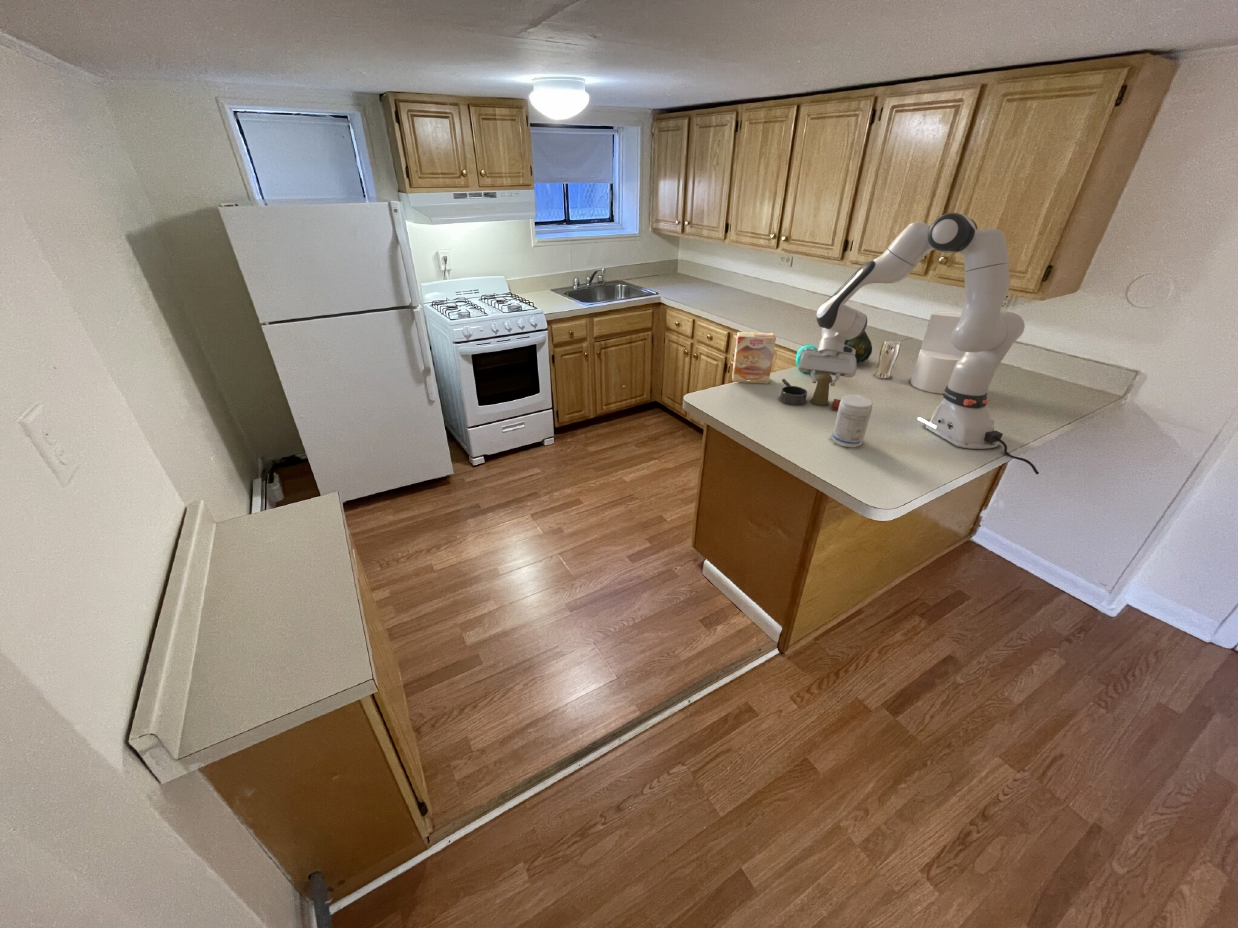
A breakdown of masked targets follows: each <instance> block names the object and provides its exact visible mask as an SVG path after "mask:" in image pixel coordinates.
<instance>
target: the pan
mask: <svg viewBox="0 0 1238 928" xmlns="http://www.w3.org/2000/svg"><path fill="white" fill-rule="evenodd" d="M807 395H808V391H807V389H806V388H803V387H802V386H801V387H800V386H795V385H791V386H786V385H785V386H783V387H782V388H781V391H780V395H779V400H780V402H782V403H783V404H786V405H790V406H802V405H804V404H805V403H806V400H807Z"/></svg>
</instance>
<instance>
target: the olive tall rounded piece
mask: <svg viewBox="0 0 1238 928" xmlns="http://www.w3.org/2000/svg"><path fill="white" fill-rule="evenodd" d="M816 378H817V382H816V386H815V389H814V392H813V394H812V397H811V403H812V404H815V405H818V406H825V405H826V406H827V404H828V403H829V395H830V394H829V392H830V385H831V381H832V380H833V377H832V375H829V374H824V373H823V374H818V375H817V377H816Z"/></svg>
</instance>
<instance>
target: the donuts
mask: <svg viewBox="0 0 1238 928" xmlns="http://www.w3.org/2000/svg"><path fill="white" fill-rule="evenodd" d="M806 348H809V349H818V347H816V346H815V345H813V344H807V345H803V346H801V347H800V348H799V349H798V350H797V352H796V355H795V359H796V360H795V364H796V368H798V367H799V363H800V360H801V357H800V354H801V351H802V350H803V349H806ZM806 373H807V374H808V373H809V372H806Z"/></svg>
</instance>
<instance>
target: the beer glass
mask: <svg viewBox="0 0 1238 928" xmlns="http://www.w3.org/2000/svg"><path fill="white" fill-rule="evenodd" d="M901 345H902V343H901V342H900V341H898V340H894V339H885V340H883V342H882V345H881V348H880V351H879V357H878V367H877V370H876V372H875V373H874V376H875V378H878V379H881V380H889V379H891V377H892V370H893V367H894V365H895V363H896V361H897V359H898V357H899V354H900V350H901Z"/></svg>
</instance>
